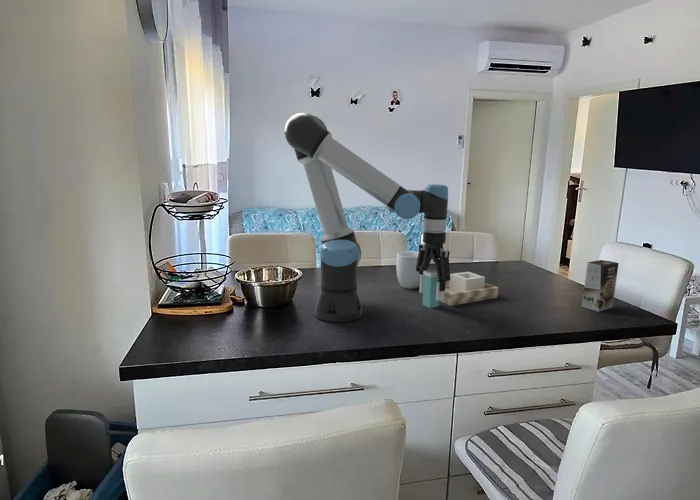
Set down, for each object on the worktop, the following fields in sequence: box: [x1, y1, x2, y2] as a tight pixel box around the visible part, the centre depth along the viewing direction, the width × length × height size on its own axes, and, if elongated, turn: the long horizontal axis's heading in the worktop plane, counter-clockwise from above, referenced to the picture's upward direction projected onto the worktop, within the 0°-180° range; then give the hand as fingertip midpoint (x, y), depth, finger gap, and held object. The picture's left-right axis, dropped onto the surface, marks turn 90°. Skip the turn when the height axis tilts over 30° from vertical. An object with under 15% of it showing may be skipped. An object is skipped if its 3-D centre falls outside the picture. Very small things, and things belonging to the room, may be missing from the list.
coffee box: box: [581, 259, 620, 313], centre depth 163 cm, size 9×6×16 cm
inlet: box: [449, 271, 486, 293], centre depth 177 cm, size 9×9×6 cm
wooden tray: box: [439, 281, 499, 307], centre depth 176 cm, size 22×18×4 cm
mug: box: [395, 251, 420, 290], centre depth 186 cm, size 15×11×13 cm
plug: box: [422, 269, 440, 309], centre depth 162 cm, size 4×4×12 cm
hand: (431, 296), depth 163 cm, fingers open, 9 cm apart
